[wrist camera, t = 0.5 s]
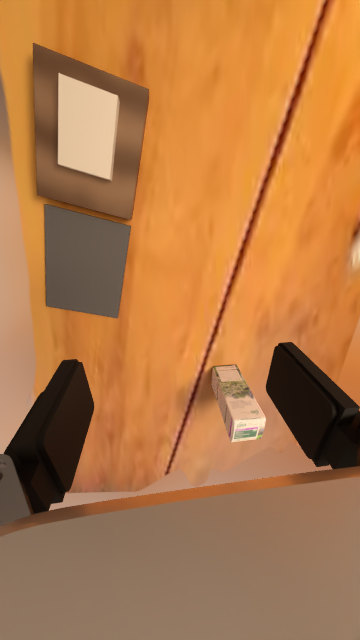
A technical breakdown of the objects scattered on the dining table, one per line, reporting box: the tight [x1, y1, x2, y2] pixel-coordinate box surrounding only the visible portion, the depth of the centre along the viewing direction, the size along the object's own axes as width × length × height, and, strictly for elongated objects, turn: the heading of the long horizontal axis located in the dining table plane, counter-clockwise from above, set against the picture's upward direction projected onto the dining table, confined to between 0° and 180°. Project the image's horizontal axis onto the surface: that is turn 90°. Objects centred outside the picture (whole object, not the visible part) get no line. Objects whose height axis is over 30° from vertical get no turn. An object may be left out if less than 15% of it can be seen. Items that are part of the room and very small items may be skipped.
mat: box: [45, 204, 131, 318], centre depth 35 cm, size 16×12×1 cm
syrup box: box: [211, 365, 266, 442], centre depth 43 cm, size 6×6×14 cm
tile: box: [58, 73, 120, 181], centre depth 25 cm, size 8×6×2 cm
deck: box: [33, 43, 149, 220], centre depth 27 cm, size 14×12×2 cm
